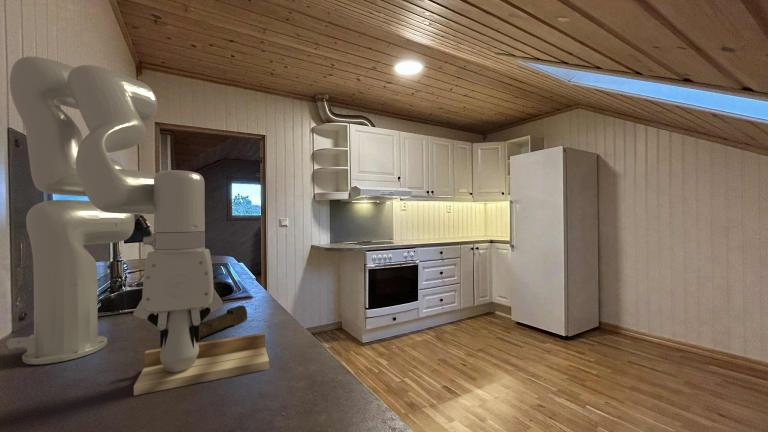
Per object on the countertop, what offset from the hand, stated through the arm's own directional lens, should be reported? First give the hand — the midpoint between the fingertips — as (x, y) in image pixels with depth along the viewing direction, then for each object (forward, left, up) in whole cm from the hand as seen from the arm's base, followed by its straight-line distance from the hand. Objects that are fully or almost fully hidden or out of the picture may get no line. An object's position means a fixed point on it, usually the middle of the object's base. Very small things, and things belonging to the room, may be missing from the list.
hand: (180, 347), depth 57 cm
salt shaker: (0, 0, -3) cm, 4 cm away
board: (+4, +1, -5) cm, 7 cm away
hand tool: (+5, +24, -6) cm, 25 cm away
